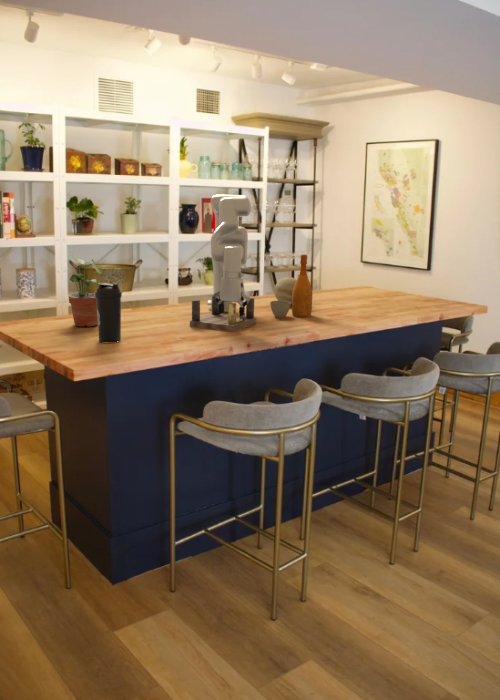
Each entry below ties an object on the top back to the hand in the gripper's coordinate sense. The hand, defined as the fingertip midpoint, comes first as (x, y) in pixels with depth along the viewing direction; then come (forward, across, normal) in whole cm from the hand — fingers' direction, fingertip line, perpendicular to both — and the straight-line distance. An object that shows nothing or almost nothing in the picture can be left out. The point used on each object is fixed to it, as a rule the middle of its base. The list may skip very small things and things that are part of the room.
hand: (231, 314), depth 283 cm
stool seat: (+7, +9, -9) cm, 14 cm away
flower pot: (+8, -5, -41) cm, 42 cm away
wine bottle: (+8, -13, -49) cm, 51 cm away
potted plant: (+7, +59, +24) cm, 64 cm away
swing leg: (+4, 0, -4) cm, 6 cm away
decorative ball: (+8, +5, -74) cm, 74 cm away
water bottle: (+7, +32, +43) cm, 54 cm away
